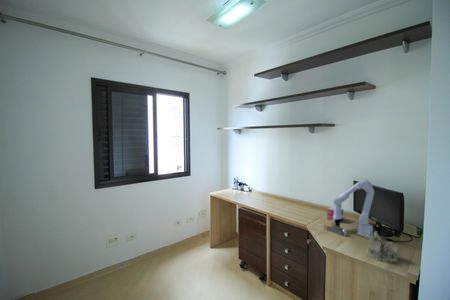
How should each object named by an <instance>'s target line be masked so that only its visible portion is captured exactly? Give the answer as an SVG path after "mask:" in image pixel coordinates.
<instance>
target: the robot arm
mask: <svg viewBox="0 0 450 300" xmlns="http://www.w3.org/2000/svg"><path fill="white" fill-rule="evenodd" d="M361 189H363V190H364V191H365V192H366V195H365V200H364V204H363V207H362V212H361V213H360V214H359V216H358V217H359V218H358V223H357V224H358V225H357V227H358V229H357V231H358V232H356V233H355V234H356V235H359V236H362V237H365V238H368V239H370V238H371V236H372V237H374V227H373V225H371V224H370V223H369V216H370V215H369V214H370V211H371V206H372V203H373V200H374V195H375V190H374V188H373V186H372V183H371V182H370V181H369V180H368V179H364V178H363V179H361V180H360V181H358V182H356V183H354V185H353V186H352V187H350V188H349V189H347V191H341V193H339V195H338V196H336V197H335V198H334V200H333V205H334V206H333V207H334V215H333V218H332V220H331V221H332V222H334V224H335V225H337V226H339V227H341V226H340V225H341V223H342V221H343V220H341V219H342V218H343V219H344V214H343V215H342V210H343V207H342V203H344V202H346V200H348V199H349V198H350V195H351V194H353V193H354V192H356V191H357V190H361Z"/></svg>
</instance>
